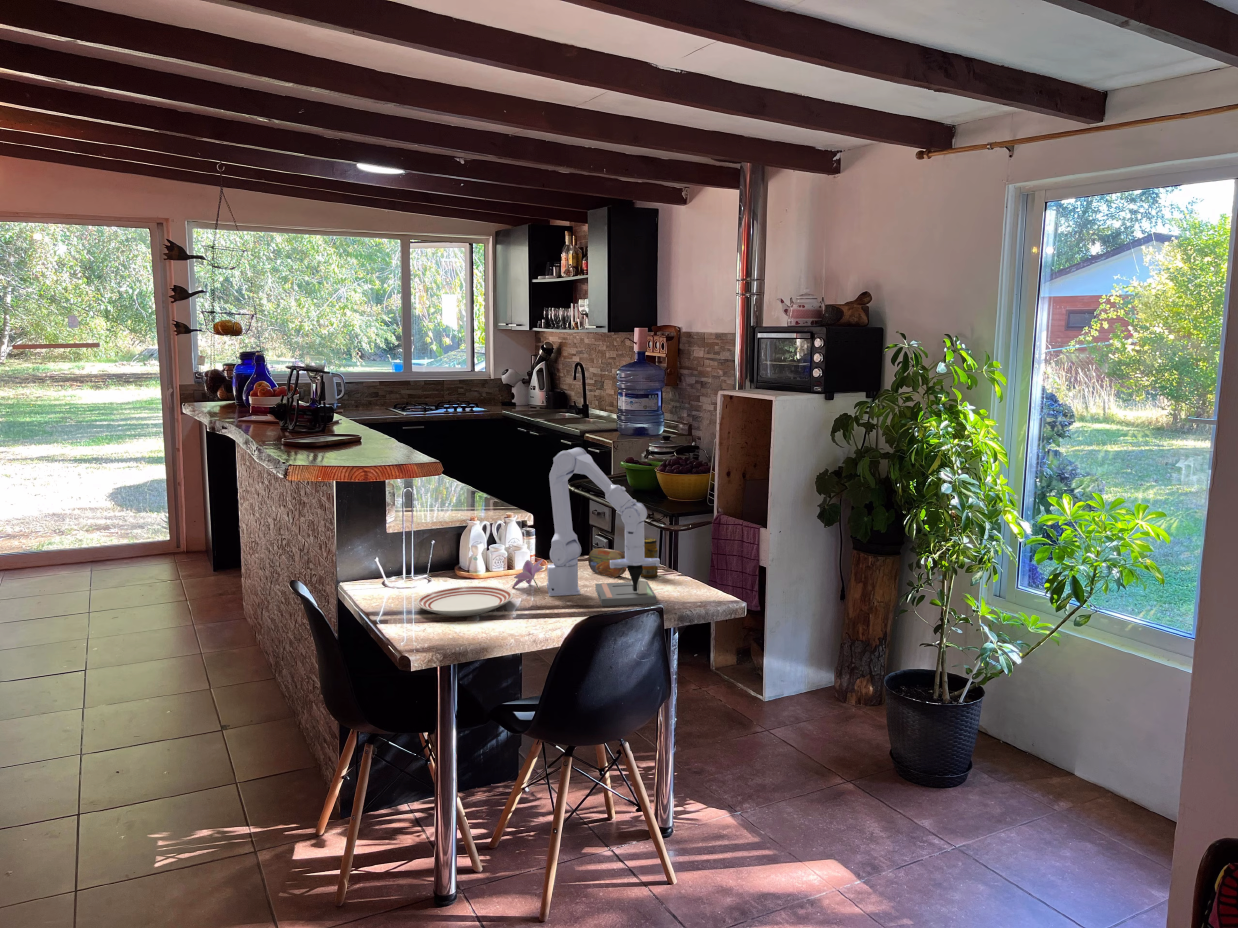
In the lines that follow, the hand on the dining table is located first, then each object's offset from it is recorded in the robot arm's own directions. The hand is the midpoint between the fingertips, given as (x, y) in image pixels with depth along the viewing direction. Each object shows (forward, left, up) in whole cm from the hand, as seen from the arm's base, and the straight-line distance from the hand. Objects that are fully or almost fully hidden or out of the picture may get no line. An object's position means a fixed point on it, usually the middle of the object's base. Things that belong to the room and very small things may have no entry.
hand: (635, 590), depth 271 cm
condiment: (+9, +26, -3) cm, 28 cm away
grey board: (-2, +4, -3) cm, 6 cm away
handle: (+2, +9, -1) cm, 9 cm away
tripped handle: (+2, 0, -1) cm, 2 cm away
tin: (-4, +31, -3) cm, 31 cm away
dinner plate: (-49, +2, -3) cm, 49 cm away
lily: (-30, +19, -3) cm, 36 cm away
